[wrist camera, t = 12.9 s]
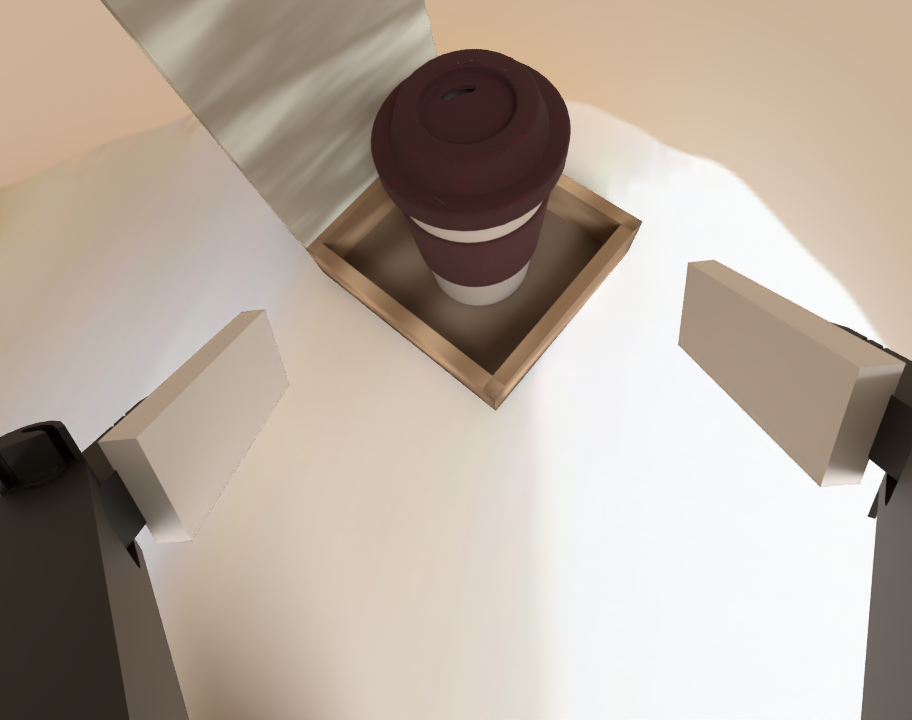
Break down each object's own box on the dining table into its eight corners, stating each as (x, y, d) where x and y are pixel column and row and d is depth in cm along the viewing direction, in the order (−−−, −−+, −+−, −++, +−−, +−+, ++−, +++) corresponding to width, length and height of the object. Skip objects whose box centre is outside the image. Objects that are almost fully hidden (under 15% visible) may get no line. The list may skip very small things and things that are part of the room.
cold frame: (273, 232, 39) (13, -81, 18) (398, 111, 42) (295, -280, 21) (495, 411, 33) (484, 240, 12) (626, 253, 36) (803, -109, 15)
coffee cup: (528, 338, 33) (548, 210, 19) (399, 308, 35) (330, 170, 21) (558, 223, 36) (595, 35, 22) (437, 200, 38) (399, 12, 23)
